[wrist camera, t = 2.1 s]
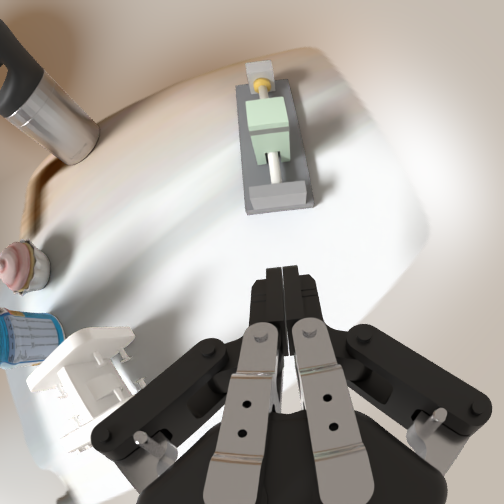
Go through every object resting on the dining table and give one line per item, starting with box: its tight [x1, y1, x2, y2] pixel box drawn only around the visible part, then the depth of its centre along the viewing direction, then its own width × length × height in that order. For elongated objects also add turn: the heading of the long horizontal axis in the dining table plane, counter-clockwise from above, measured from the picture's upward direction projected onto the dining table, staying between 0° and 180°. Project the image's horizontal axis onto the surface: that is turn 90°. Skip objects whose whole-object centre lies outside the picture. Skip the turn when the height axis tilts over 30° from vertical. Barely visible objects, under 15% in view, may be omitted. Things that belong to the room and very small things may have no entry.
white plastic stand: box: [26, 327, 147, 454], centre depth 26 cm, size 15×11×12 cm
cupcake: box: [0, 239, 50, 296], centre depth 33 cm, size 9×9×10 cm
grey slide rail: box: [236, 60, 314, 215], centre depth 33 cm, size 21×8×6 cm, turn 5°
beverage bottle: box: [0, 308, 65, 369], centre depth 25 cm, size 8×8×20 cm
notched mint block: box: [245, 97, 290, 165], centre depth 30 cm, size 4×4×8 cm
